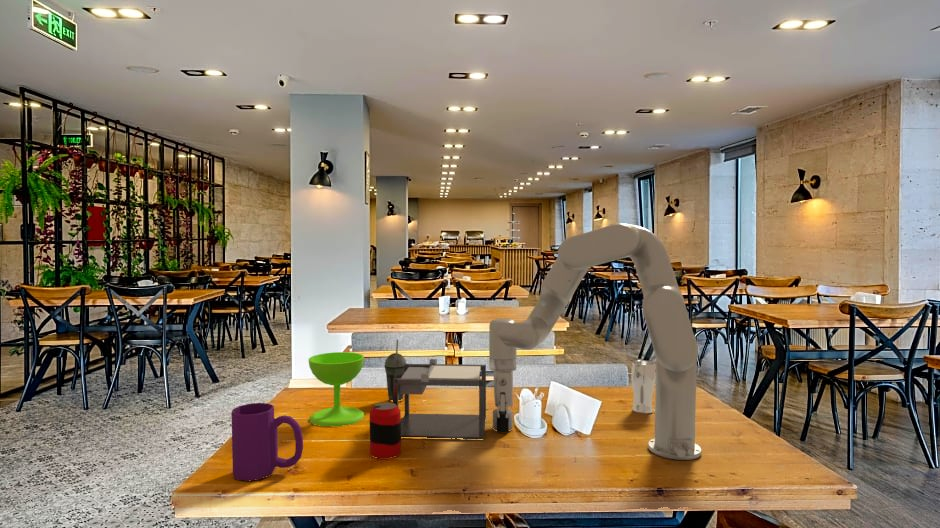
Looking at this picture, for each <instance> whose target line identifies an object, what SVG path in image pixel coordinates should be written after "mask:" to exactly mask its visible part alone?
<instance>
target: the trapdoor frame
mask: <svg viewBox="0 0 940 528" xmlns="http://www.w3.org/2000/svg"><path fill="white" fill-rule="evenodd" d="M428 362H429V363H406V364H404V373H405V372H406V370H407V369H408V368H409V367H430V366H431V365H432V364H433V365H435V366H481V370H480V372H481V379H480V378H479V379H429V373H422V374H421V379H411V378H394V379H393V402H392V403H394V404H396V405H397V407H398V408H399V409H400V407H399V403H400V402H399V401H398V385H425V386H426V387H427V386H431V387H432V386H433V387H435V386H437V387H439V386H440V387H478V414H455V413H454V414H452V413H449V414H447V413H410V394H404V416H403V417H402V419H401V437H427V438H451V439H452V438H455V439H457V438H463V439H484V440H485V432H484V431H485V430H486V422H485V420H486V421H487V405H486V404H487V364H462V363H461V364H460V363H459V364H457V363H456V364H455V363H454V364H453V363H451V364H450V363H448V364H447V363H442V364H441V363H438V359H437V358H430V359H429V361H428Z"/></svg>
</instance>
